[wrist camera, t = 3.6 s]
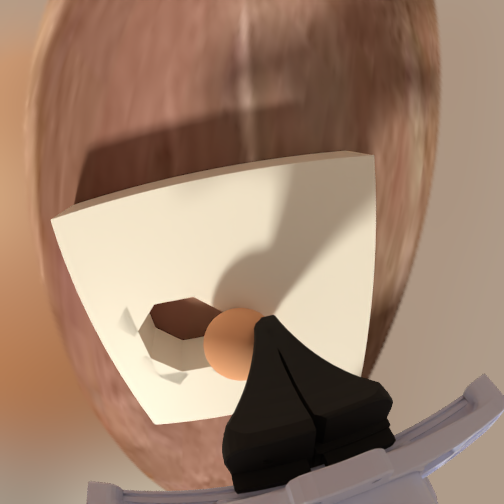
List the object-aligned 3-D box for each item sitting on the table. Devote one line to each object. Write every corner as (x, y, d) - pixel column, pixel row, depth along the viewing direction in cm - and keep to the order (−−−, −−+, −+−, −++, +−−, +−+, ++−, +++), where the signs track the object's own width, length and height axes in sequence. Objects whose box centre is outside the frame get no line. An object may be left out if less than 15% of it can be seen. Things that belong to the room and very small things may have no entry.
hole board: (345, 353, 22) (360, 377, 19) (156, 395, 20) (155, 424, 17) (345, 150, 15) (373, 155, 13) (73, 204, 14) (50, 219, 11)
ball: (248, 407, 12) (191, 372, 14) (287, 363, 14) (233, 337, 16) (251, 354, 10) (184, 318, 12) (295, 310, 13) (234, 285, 15)
